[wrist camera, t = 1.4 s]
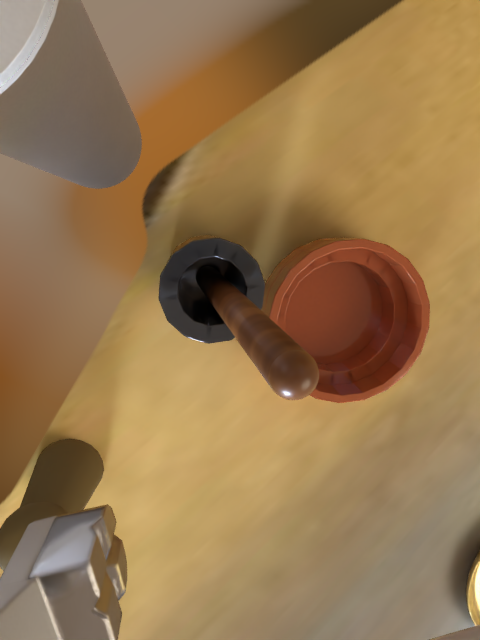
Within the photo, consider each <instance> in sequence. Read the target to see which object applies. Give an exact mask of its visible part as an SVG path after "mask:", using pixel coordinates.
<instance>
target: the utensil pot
mask: <svg viewBox="0 0 480 640" xmlns="http://www.w3.org/2000/svg"><path fill="white" fill-rule="evenodd" d="M205 266H210V267H213V268H215V269H216V270H217V271H218V272H219V273H221V274H222V275H223V276H224V277H225V278H226V279H227V280H228V281H229V282H230V283H232V284H233V285H234V286H235V287H236V288H237V289H238V290H239V291H240V292H241V293H243V294H244V295H245V296H246V297H247V298H248V299H249V300H250V301H251V302H253V303H254V304H255V305H256V306H257V307H258V308H259V309H260V310H261V309H262V307H263V300H264V291H265V282H264V279H263V276H262V273H261V270H260V267H259V265H258V263H257V261H256V260H255V259H254V258H253V257H252V256H251V255H250V254H249V253H248V252H247V251H246V250H245V249H244V248H243V247H242V246H241V245H238V244H236V243H233V242H230V241H227V240H224V239H221V238H218V237H215V236H212V235H203V236H196V237H191V238H189V239H188V240H186V241H184V242H183V243H181V244H180V245H178V246H177V247H176V248H175V249H174V251H173V253H172V254H171V256H170V258H169V260H168V261H167V263H166V265H165V267H164V269H163V271H162V273H161V275H160V286H159V301H160V304H161V306H162V309H163V311H164V313H165V316H166V318H167V321H169V323H170V324H171V325H173V326H174V327H175V328H176V329H177V330H178V331H179V332H180V333H182V334H183V335H184V336H186V337H187V338H191V339H194V340H197V341H201V342H204V343H215V342H222V341H229V340H232V339H233V338H235V336H234V335H233V333H232V332H231V331H230V329H229V328H228V326H227V325H226V324H225V322H224V321H223V319H222V318H221V317H220V315H219V314H218V312H217V311H216V310H215V308H214V307H213V305H212V304H211V303H210V301H209V300H208V298H207V297H206V296H205V294H204V293H203V291H202V290H201V289H200V287H199V286H198V284H197V282H196V274H197V272H198V271H199V270H200V269H201V268H202V267H205Z"/></svg>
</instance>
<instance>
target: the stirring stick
mask: <svg viewBox="0 0 480 640" xmlns="http://www.w3.org/2000/svg"><path fill="white" fill-rule="evenodd" d="M196 282H197V284H198V286H199V287H200V289H201V290H202V291H203V293H204V294H205V296H206V297H207V298H208V300H209V301H210V303H211V304H212V305H213V307H214V308H215V310H216V311H217V312H218V314H219V315H220V317H221V318H222V319H223V321H224V322H225V324H226V325H227V326H228V328H229V329H230V331H231V332H232V333H233V335H234V336H235V338H236V339H237V340H238V342H239V343H240V345H241V346H242V348H243V349H244V350H245V352H246V353H247V355H248V356H249V357H250V359H251V360H252V362H253V363H254V364H255V366H256V367H257V369H258V370H259V371H260V373H261V374H262V376H263V377H264V378H265V380H266V381H267V383H268V384H269V385H270V387H271V388H272V390H273V391H274V392H275V393H276V394H277V395H279V396H280V397H282V398H285V399H288V400H299V399H303V398H305V397H307V396H308V395H310V394H311V393H312V392H313V391H314V389H315V388H316V386H317V383H318V380H319V369H318V366H317V363H316V361H315V360H314V358H313V357H312V356H311V355H310V354H309V353H308V352H307V351H305V350H304V349H303V348H302V347H301V346H300V345H299V344H298V343H297V342H296V341H294V340H293V339H292V338H291V337H290V336H289V335H288V334H287V333H286V332H285V331H283V330H282V329H281V328H280V327H279V326H278V325H277V324H276V323H275V322H273V321H272V320H271V319H270V318H269V317H268V316H267V315H266V314H265V313H264V312H262V311H261V310H260V309H259V308H258V307H257V306H256V305H255V304H254V303H253V302H251V301H250V300H249V299H248V298H247V297H246V296H245V295H244V294H243V293H241V292H240V291H239V290H238V289H237V288H236V287H235V286H234V285H233V284H232V283H230V282H229V281H228V280H227V279H226V278H225V277H224V276H223V275H222V274H221V273H219V272H218V271H217V270H216V269H215V268H213V267H210V266H205V267H202V268H201V269H200V270H199V271H198V272H197V274H196Z"/></svg>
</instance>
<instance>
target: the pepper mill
mask: <svg viewBox="0 0 480 640" xmlns="http://www.w3.org/2000/svg"><path fill="white" fill-rule="evenodd" d="M103 471H104V467H103V460H102V458H101V456H100V455H99V453H98V451H97V450H95V449H94V448H93V447H92V446H91V445H89V444H87V443H85V442H83V441H81V440H74V439H65V440H59V441H57V442H54V443H52V444H50V445H49V446H48V447H46V448H45V449H44V450H43V451H42V453H41V454H40V456H39V458H38V460H37V462H36V465H35V468H34V470H33V473H32V476H31V479H30V481H29V484H28V487H27V489H26V492H25V495H24V498H23V500H22V503H21V506H20V508H19V509H17V510H16V511H15V512H14V513H13V514H11V515H10V516H9V517H8V518H7V519H6V520H5V522H4V524H3V525H2V527H1V528H0V567H1V569H2V570H3V571H4V570H5V568H6V566H7V564H8V563H9V561H10V559H11V557H12V555H13V553H14V551H15V549H16V547H17V545H18V543H19V542H20V540H21V538H22V536H23V534H24V532H25V530H26V528H27V526H28V525H29V524H30V523H32V522H33V521H36V520H40V519H44V518H48V517H52V516H59V515H62V514H66V513H71V512H75V511H80V510H83V509H84V508H85V506H86V504H87V503H88V501H89V499H90V498H91V496H92V494H93V492H94V491H95V489H96V487H97V486H98V484H99V482H100V480H101V479H102V475H103Z"/></svg>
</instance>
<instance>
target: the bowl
mask: <svg viewBox="0 0 480 640" xmlns="http://www.w3.org/2000/svg"><path fill="white" fill-rule="evenodd" d="M261 311H262V312H264V313H265V314H266V315H267V316H268V317H269V318H270V319H271V320H272V321H273V322H275V323H276V324H277V325H278V326H279V327H280V328H281V329H282V330H283V331H285V332H286V333H287V334H288V335H289V336H290V337H291V338H292V339H293V340H294V341H296V342H297V343H298V344H299V345H300V346H301V347H302V348H303V349H304V350H305V351H307V352H308V353H309V354H310V355H311V356H312V357H313V358H314V360H315V361H316V363H317V366H318V369H319V380H318V383H317V386H316V388H315V389H314V391H313V392H312V393H311V394H310V395H311V396H312V397H314V398H316V399H321V400H326V401H331V402H336V403H344V402H352V401H360V400H365V399H368V398H370V397H372V396H374V395H377V394H379V393H381V392H384V391H386V390H388V389H389V388H390V387H391V386H392V385H394V384H395V383H396V382H397V381H399V380H400V379H401V378H402V377H403V376H405V375H406V374H407V372H408V371H409V369H410V368H411V367H412V365H413V364H414V362H415V361H416V359H417V358H418V356H419V355H420V352H421V351H422V348H423V345H424V342H425V339H426V336H427V333H428V330H429V315H430V304H429V299H428V296H427V292H426V289H425V285H424V282H423V280H422V278H421V276H420V275H419V274H418V272H417V271H416V269H415V268H414V267H413V265H412V264H411V262H410V261H409V260H408V259H407V258H406V257H404V256H403V255H401V254H400V253H399V252H397V251H396V250H394V249H393V248H391V247H390V246H388V245H386V244H382V243H378V242H374V241H370V240H367V239H360V238H345V237H338V238H325V239H317V240H315V241H313V242H310V243H308V244H305V245H303V246H301V247H298V248H297V249H295V250H294V251H292V252H291V253H290V254H289V255H288V256H287V257H286V258H284V259H283V260H282V261H281V262H280V263H279V264H278V265H277V266H276V268H275V269H274V271H273V272H272V274H271V276H270V277H269V279H268V280H267V282H266V284H265V291H264V300H263V307H262V309H261Z"/></svg>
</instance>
